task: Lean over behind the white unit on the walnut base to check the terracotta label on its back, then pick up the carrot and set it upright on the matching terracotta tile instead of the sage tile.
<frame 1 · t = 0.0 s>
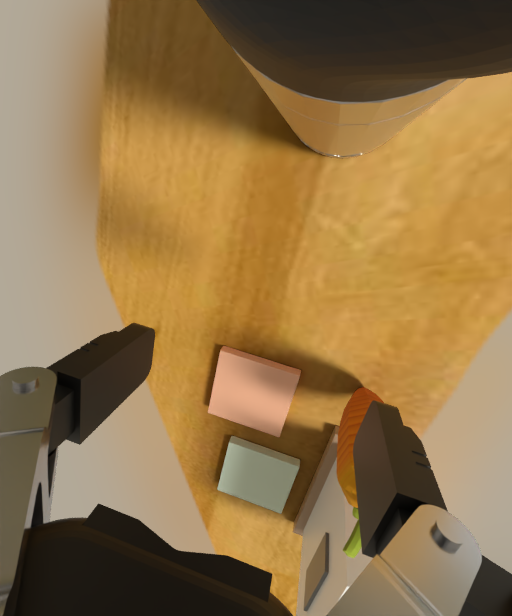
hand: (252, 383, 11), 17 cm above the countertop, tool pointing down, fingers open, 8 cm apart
terracotta tile: (253, 389, 32), on the countertop
carrot: (362, 388, 30), on the countertop
sage tile: (257, 471, 36), on the countertop
white unit: (348, 491, 34), on the countertop
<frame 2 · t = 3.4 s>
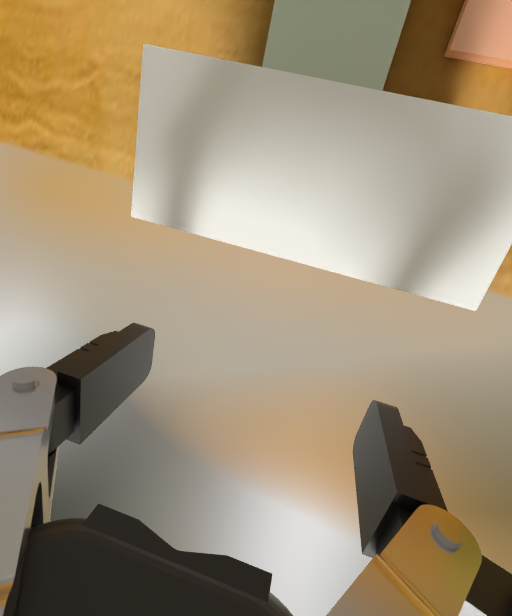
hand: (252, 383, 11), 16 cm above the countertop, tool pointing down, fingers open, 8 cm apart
sage tile: (337, 17, 20), on the countertop
white unit: (321, 188, 23), on the countertop
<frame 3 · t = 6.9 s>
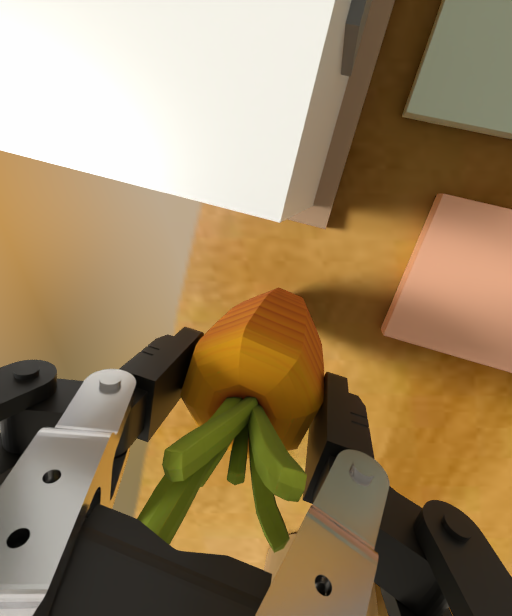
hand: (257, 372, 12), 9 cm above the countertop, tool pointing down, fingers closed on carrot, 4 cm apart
terracotta tile: (479, 286, 17), on the countertop
carrot: (286, 300, 20), on the countertop, touching gripper
white unit: (295, 46, 16), on the countertop
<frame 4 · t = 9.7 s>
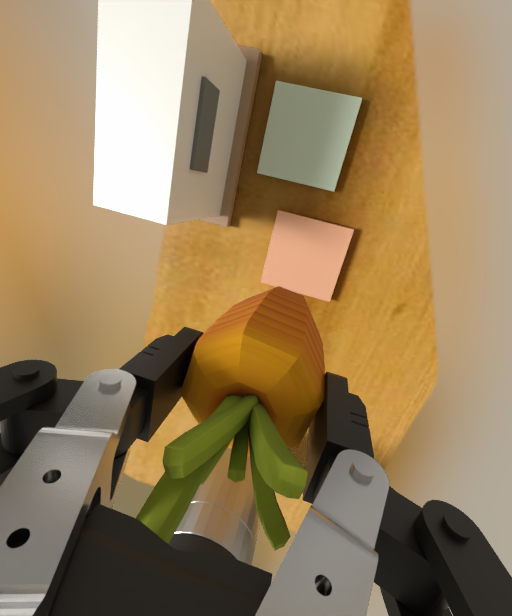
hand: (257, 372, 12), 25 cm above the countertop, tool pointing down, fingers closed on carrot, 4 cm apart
terracotta tile: (305, 255, 34), on the countertop
carrot: (287, 299, 20), point 16 cm above the countertop, touching gripper
sage tile: (306, 139, 31), on the countertop
white unit: (208, 140, 33), on the countertop
when the fingers open (11 cm above the countertop, at t = 12.8 s): carrot drops 1 cm, resting on terracotta tile.
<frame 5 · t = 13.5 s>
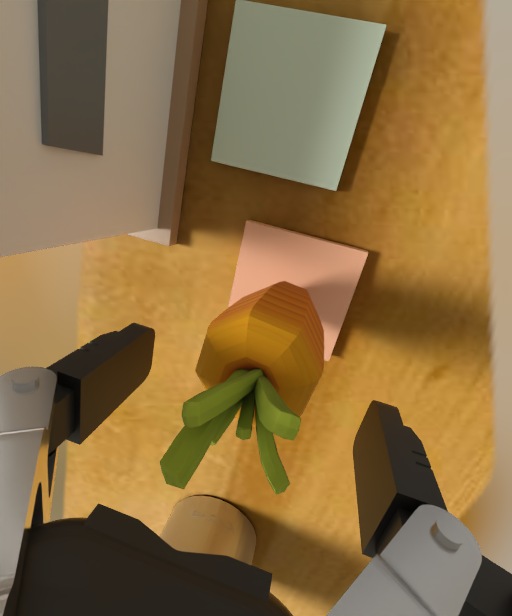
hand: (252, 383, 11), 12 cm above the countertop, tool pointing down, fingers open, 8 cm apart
terracotta tile: (291, 290, 22), on the countertop
carrot: (293, 294, 22), point 1 cm above the countertop, touching terracotta tile
sage tile: (290, 105, 19), on the countertop
white unit: (135, 108, 21), on the countertop
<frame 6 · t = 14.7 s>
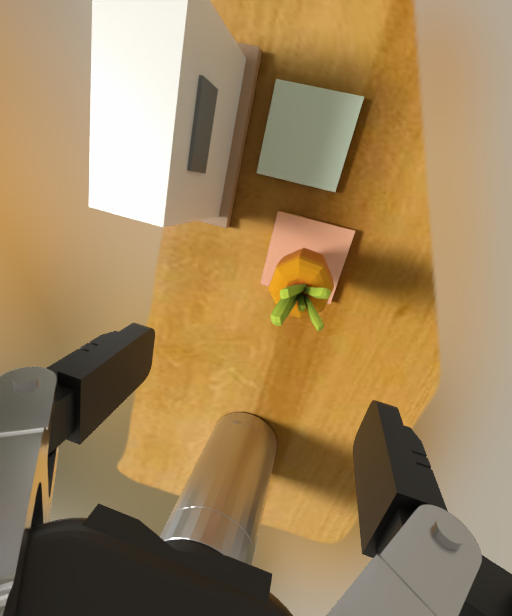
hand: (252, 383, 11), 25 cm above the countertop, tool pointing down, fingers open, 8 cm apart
terracotta tile: (305, 257, 34), on the countertop
carrot: (307, 259, 33), point 1 cm above the countertop, touching terracotta tile
sage tile: (307, 139, 30), on the countertop
white unit: (207, 139, 32), on the countertop
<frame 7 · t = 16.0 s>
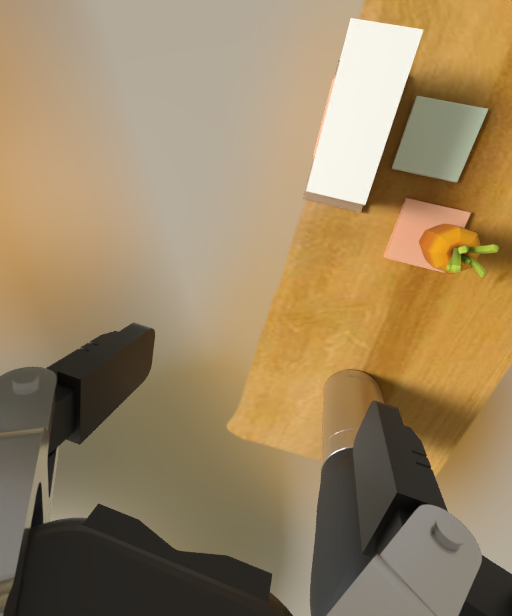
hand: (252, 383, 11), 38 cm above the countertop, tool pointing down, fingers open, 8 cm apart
terracotta tile: (423, 235, 42), on the countertop
carrot: (427, 236, 42), point 1 cm above the countertop, touching terracotta tile
sage tile: (435, 141, 39), on the countertop
white unit: (349, 142, 41), on the countertop
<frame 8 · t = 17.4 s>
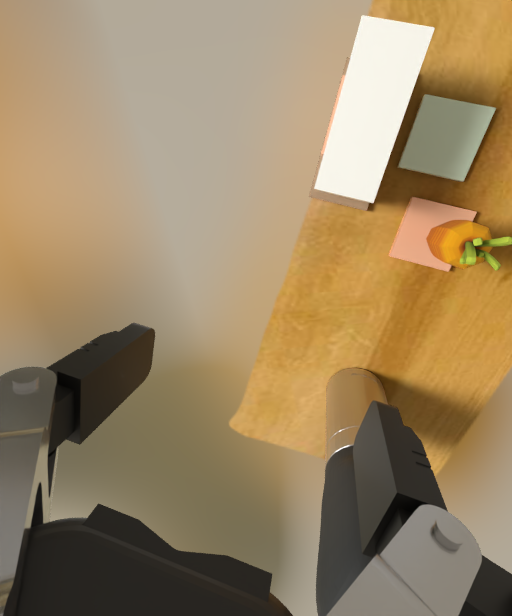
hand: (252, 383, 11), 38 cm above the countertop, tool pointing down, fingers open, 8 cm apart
terracotta tile: (428, 234, 43), on the countertop
carrot: (432, 235, 42), point 1 cm above the countertop, touching terracotta tile
sage tile: (442, 140, 39), on the countertop
white unit: (356, 140, 41), on the countertop
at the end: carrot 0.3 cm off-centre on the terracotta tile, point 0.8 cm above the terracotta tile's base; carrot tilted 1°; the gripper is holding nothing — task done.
